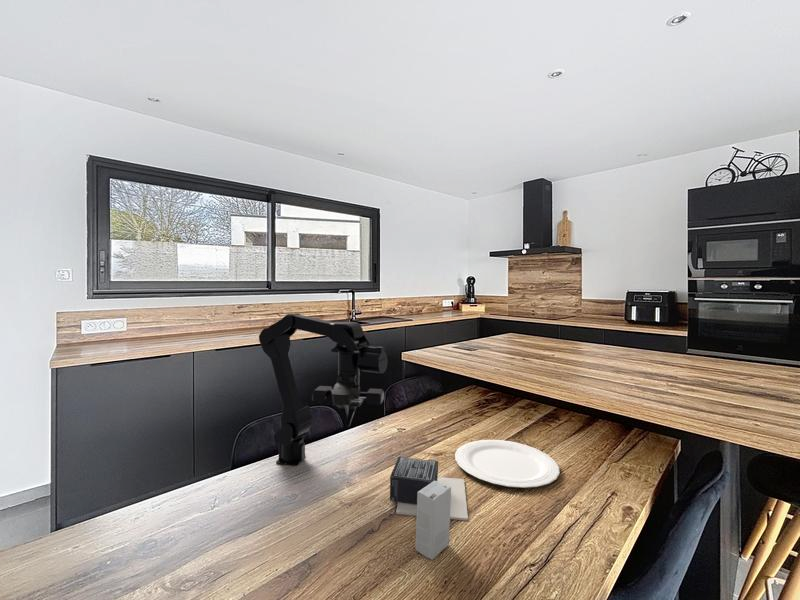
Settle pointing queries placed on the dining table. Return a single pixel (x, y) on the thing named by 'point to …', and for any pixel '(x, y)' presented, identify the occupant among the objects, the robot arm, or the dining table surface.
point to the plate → (507, 463)
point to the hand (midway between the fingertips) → (348, 426)
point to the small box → (411, 478)
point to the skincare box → (433, 519)
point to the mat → (457, 500)
